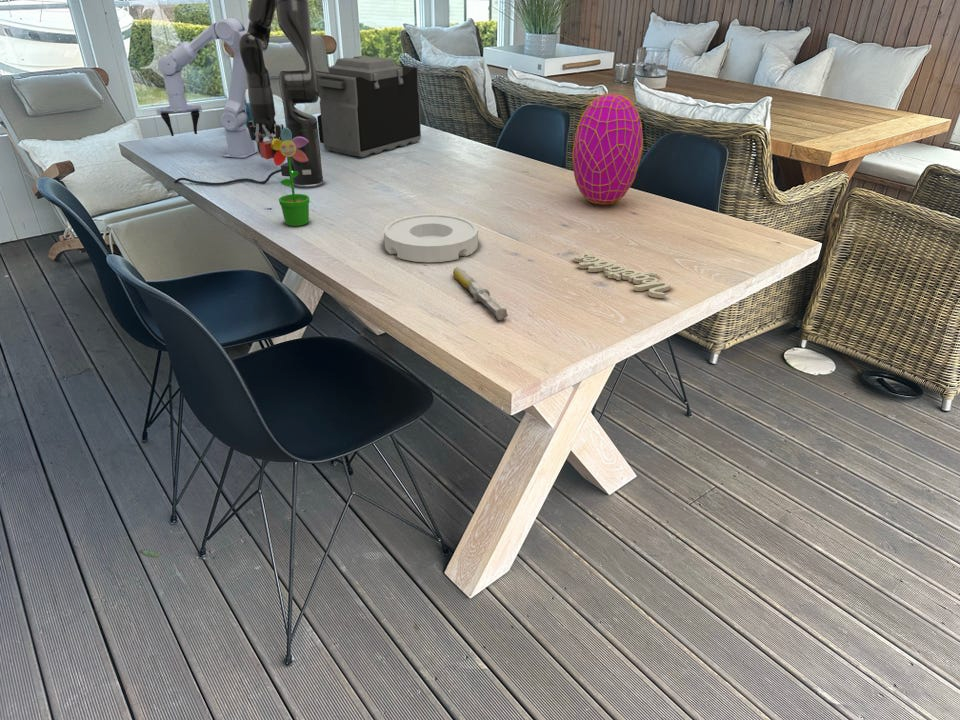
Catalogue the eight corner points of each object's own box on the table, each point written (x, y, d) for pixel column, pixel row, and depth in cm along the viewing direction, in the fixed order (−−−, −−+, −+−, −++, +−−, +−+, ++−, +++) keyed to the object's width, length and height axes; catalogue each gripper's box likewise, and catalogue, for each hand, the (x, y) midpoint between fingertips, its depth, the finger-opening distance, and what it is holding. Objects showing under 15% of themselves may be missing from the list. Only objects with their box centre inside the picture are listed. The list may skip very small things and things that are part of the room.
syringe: (449, 274, 155) (449, 263, 153) (465, 272, 156) (464, 260, 154) (490, 323, 135) (491, 310, 133) (508, 319, 136) (508, 307, 134)
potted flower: (284, 229, 179) (270, 130, 166) (277, 220, 185) (263, 124, 172) (319, 224, 183) (308, 127, 170) (311, 215, 188) (300, 121, 176)
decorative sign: (686, 282, 150) (660, 295, 144) (686, 286, 150) (659, 300, 144) (592, 249, 166) (565, 259, 160) (592, 253, 167) (565, 263, 161)
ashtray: (391, 227, 181) (390, 212, 179) (479, 229, 180) (479, 214, 178) (377, 261, 161) (376, 245, 159) (476, 263, 160) (476, 247, 158)
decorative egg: (611, 217, 189) (624, 103, 174) (555, 202, 201) (562, 94, 185) (647, 202, 202) (662, 94, 186) (592, 188, 213) (602, 86, 198)
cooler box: (383, 133, 276) (378, 52, 261) (425, 141, 265) (422, 56, 250) (314, 150, 251) (304, 61, 235) (358, 160, 240) (350, 67, 224)
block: (272, 155, 230) (269, 140, 227) (278, 157, 227) (275, 142, 224) (260, 156, 227) (258, 142, 225) (266, 159, 225) (264, 144, 222)
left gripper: (154, 97, 229) (163, 138, 236) (199, 94, 235) (207, 135, 242) (152, 93, 235) (161, 134, 242) (197, 91, 240) (204, 131, 247)
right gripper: (287, 101, 218) (293, 155, 227) (252, 97, 224) (260, 150, 232) (270, 105, 213) (278, 160, 221) (235, 101, 218) (244, 155, 227)
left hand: (184, 134), depth 242 cm, fingers open, 7 cm apart
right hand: (269, 155), depth 227 cm, fingers closed on block, 5 cm apart
